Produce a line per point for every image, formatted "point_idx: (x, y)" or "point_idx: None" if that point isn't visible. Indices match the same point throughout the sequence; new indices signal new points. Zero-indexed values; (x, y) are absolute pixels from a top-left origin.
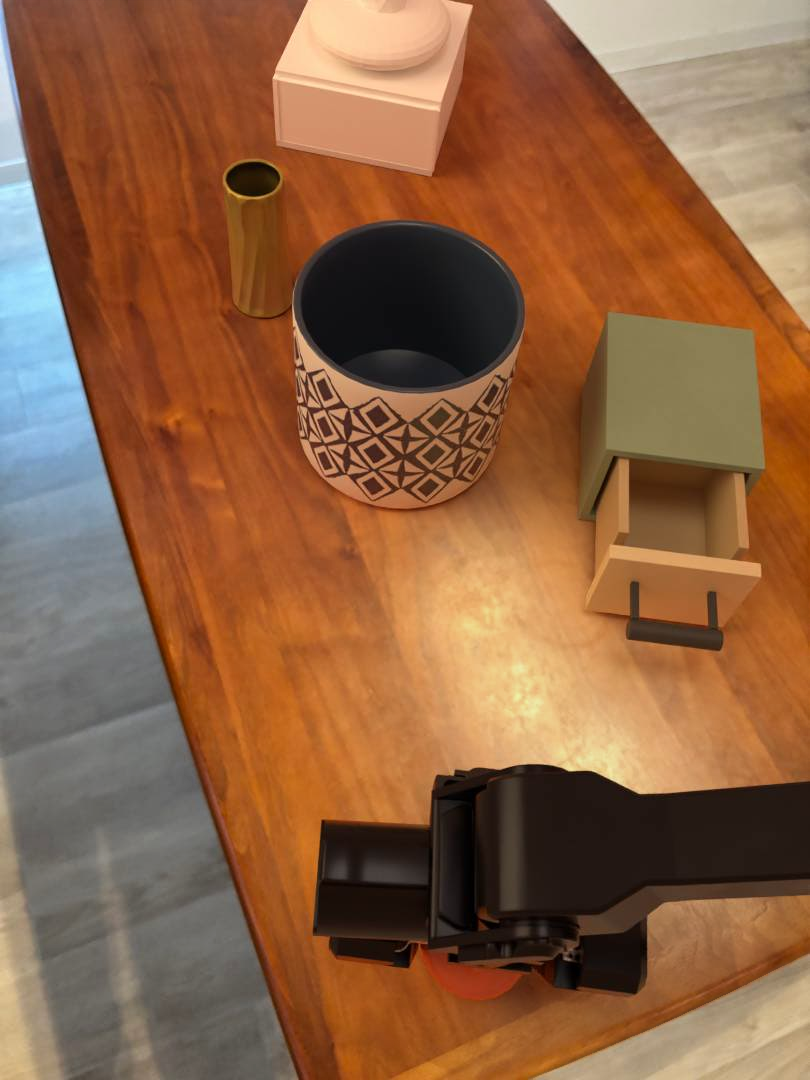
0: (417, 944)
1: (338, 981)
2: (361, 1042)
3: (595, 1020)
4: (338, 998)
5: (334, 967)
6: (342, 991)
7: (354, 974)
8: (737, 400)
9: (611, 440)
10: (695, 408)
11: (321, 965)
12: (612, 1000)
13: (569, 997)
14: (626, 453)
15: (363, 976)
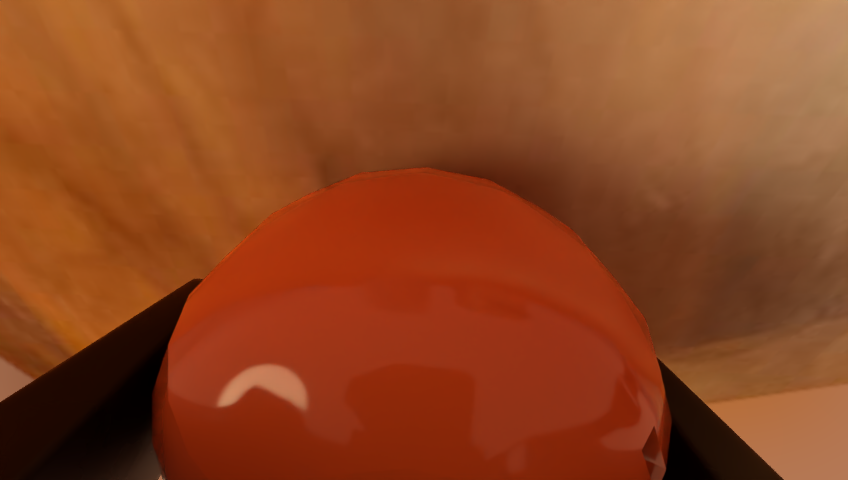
0: (155, 456)
1: (72, 304)
2: None
3: (711, 390)
4: (90, 332)
5: (44, 278)
6: (93, 321)
7: (107, 293)
8: None
9: None
10: None
11: (6, 273)
12: (778, 364)
13: (671, 355)
14: None
15: (133, 298)
